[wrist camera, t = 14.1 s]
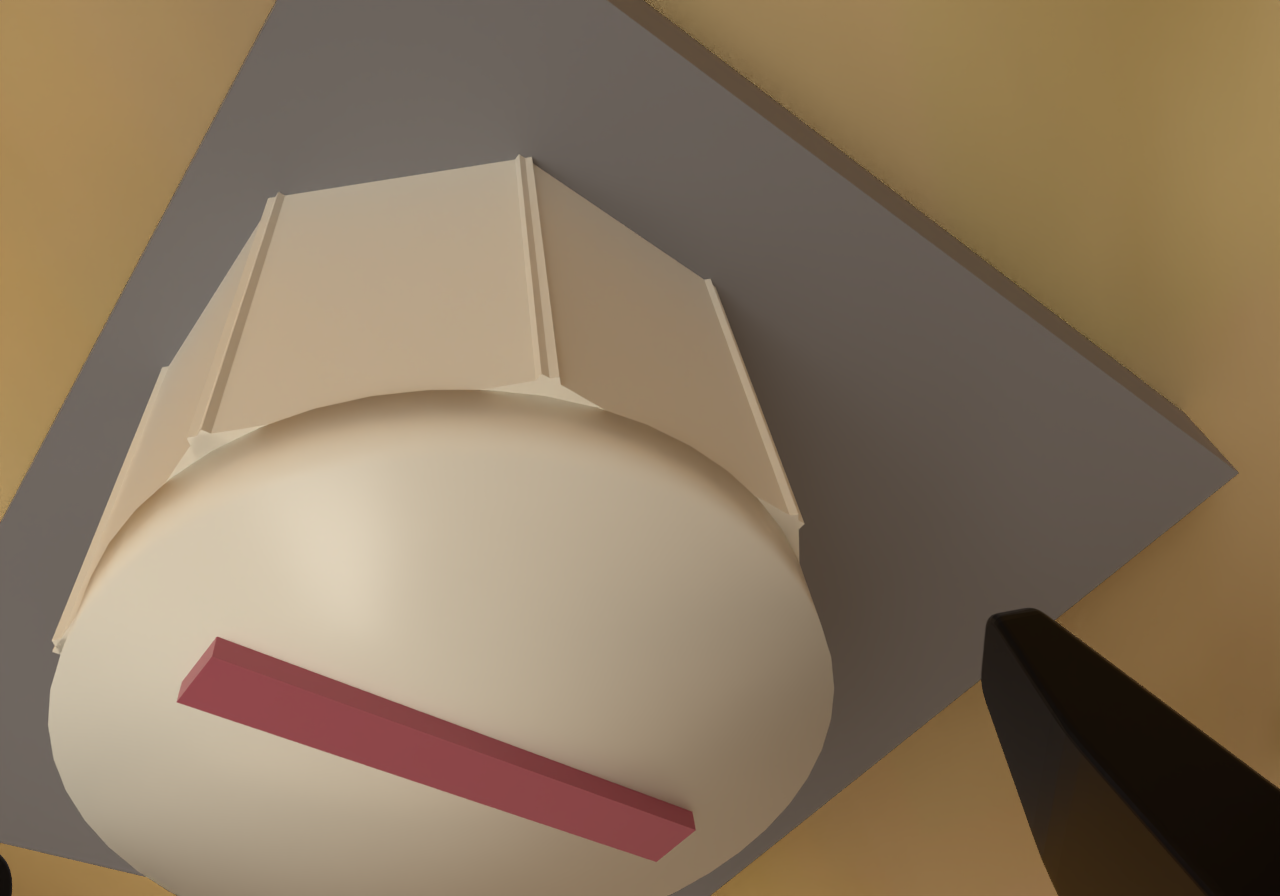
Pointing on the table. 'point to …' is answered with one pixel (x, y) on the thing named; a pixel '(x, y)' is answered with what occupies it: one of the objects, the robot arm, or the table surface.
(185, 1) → the table surface
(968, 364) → the board
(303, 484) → the knob
